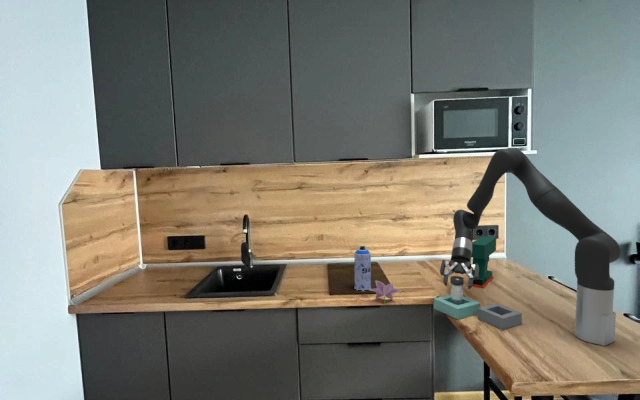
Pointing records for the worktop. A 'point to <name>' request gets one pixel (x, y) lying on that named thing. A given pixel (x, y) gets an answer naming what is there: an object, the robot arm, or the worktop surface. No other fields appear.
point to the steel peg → (457, 289)
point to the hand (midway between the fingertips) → (457, 286)
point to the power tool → (483, 259)
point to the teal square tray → (456, 307)
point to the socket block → (500, 316)
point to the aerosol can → (362, 269)
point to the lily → (384, 290)
